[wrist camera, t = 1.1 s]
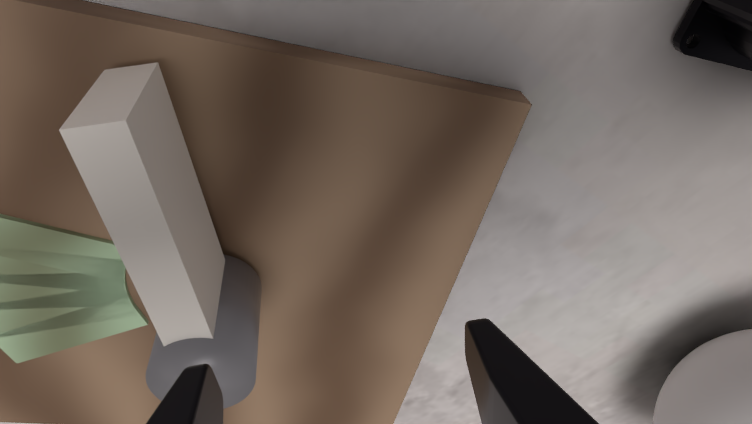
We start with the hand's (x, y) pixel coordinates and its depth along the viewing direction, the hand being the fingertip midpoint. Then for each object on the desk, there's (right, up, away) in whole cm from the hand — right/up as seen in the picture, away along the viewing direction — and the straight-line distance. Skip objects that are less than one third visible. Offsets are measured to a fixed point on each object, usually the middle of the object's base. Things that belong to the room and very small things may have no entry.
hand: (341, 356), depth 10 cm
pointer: (-6, +3, +10) cm, 12 cm away
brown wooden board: (-6, 0, +14) cm, 15 cm away
